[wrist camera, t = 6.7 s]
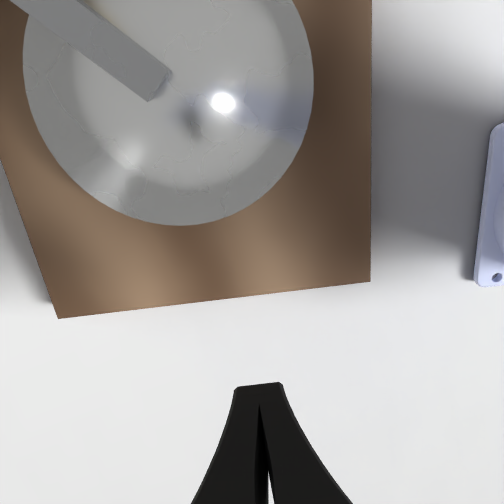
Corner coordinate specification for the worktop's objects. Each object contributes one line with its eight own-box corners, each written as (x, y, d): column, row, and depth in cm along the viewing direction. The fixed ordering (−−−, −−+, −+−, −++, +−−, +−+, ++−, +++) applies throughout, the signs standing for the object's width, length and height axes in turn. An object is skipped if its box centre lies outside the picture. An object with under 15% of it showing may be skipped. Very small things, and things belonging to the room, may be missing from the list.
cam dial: (361, 62, 16) (418, 66, 11) (208, 256, 19) (200, 324, 14) (-18, -287, 12) (-189, -522, 7) (-136, 31, 15) (-312, 20, 10)
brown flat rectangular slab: (361, -263, 14) (379, -306, 12) (363, 270, 22) (374, 287, 20) (-108, -202, 14) (-155, -237, 12) (66, 305, 22) (53, 325, 20)
